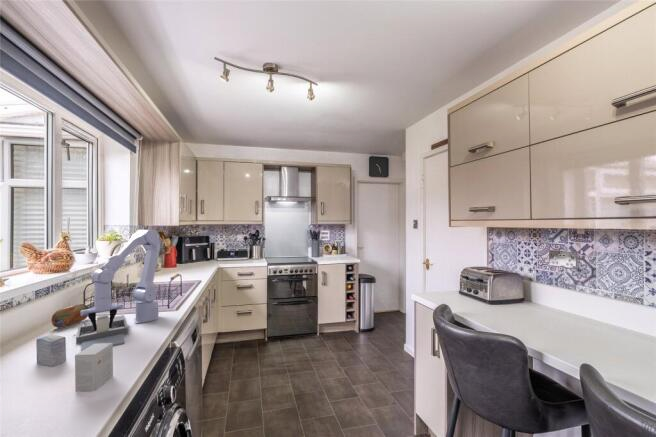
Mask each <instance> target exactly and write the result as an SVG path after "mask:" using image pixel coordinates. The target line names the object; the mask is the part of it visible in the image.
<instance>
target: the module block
mask: <svg viewBox="0 0 656 437" xmlns="http://www.w3.org/2000/svg"><path fill="white" fill-rule="evenodd" d="M109 318H110V313H109V314H107V313H105V314H100V315H96V320H97V330H96V333H99V332H104V331H109V330H110V328H109Z"/></svg>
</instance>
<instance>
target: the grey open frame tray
mask: <svg viewBox="0 0 656 437" xmlns="http://www.w3.org/2000/svg"><path fill="white" fill-rule="evenodd" d="M109 322H110V317H109ZM121 326H123V327H121ZM116 327H121V328H116ZM111 328H116V329H109V331H104V332H99V333H97V332H95V331H94V327H93V324H92V322H91V321H90V320H89V321H86V319H85V320H82V322H79V326H78V328H77V332H76V336H75V337H76V338H75V341H76V343H75V344H76V345H79V344H82V342H84V341H89V340H94V339H99V338H104V337H109V336H114V335H119V334H123V335H126V334H128V333H129V332H128V331H129V327H128V324H127V320H126V318H125V315H124V314H121V315H115V317H114V319H113V322H112V327H111ZM96 331H97V319H96ZM91 332H94V333H91ZM85 333H90V334H85ZM81 334H85V335H81Z"/></svg>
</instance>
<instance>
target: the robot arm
mask: <svg viewBox="0 0 656 437" xmlns="http://www.w3.org/2000/svg"><path fill="white" fill-rule="evenodd" d="M160 236H161V235H160V233H158V232H157V230H155V229H152V228H151V229H137V230H136V231H135V232H134V233H133V234H131V237H130V239H129V240H128V241H127V242H126V243H125V245H124V246H123V247H122V248H121V250H119V252H118V253H117V254H112V256H111V255H110V256H108V258H107V261H105V263H103V265H101V266H99V269H96V270H95V271H94V272H93V273H92V276H90V280H91V281H92V283H93V298H94V306H93V307H91V308H88V309H86V310H81V316H84V315H88V316H87V317H88V319H89V321H91V322H92V324H93V327H94V331H93V332H97V330H96V320H97V314H100V313H104V312H109V318H110V322H109V329H112V328H113V327H112V322H113V319H114V317H116V316H117V312H118V310H124V304H123V303H120V304H112V283H111V282H112V281H113V280H114V278H115V274H116V273H117V272H118V271H119V269H120V268H122V266H123V265H124V263H125V262H126V260H125V259H126V258H127V257H128V256H129V255H130V254H131V253H132V252H133V251H134V250H135V249H136V248H137V247H138V246H143V247H145V248H146V252H145V258H144V262H143V267H142V271H141V276H140V280H139V281H138V283H136V285H135V288H134V289H133V291H132V294H131V297H132V299H133V300H134V302H135V318H133V320H134V324H141V323H147V322H151V321H152V322H153V321H157V320H159V302H158V300H157V299H156V297H157V291H156V288H157V286H156V285H155V283H154V280H155V276H156V269H157V266H158V260H159V256H160V252H161V244H160V243H161V242H160Z"/></svg>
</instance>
